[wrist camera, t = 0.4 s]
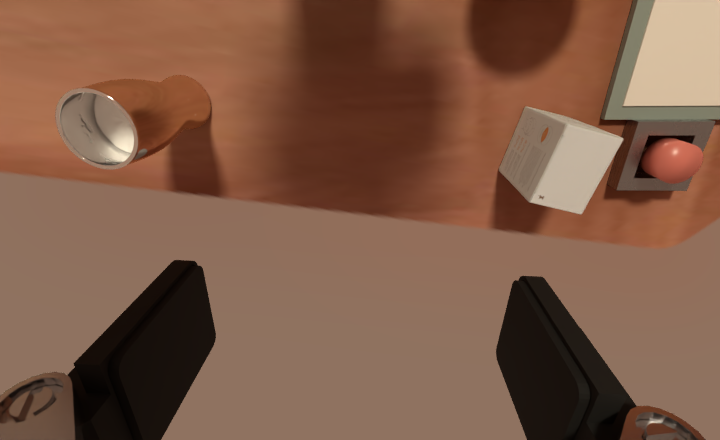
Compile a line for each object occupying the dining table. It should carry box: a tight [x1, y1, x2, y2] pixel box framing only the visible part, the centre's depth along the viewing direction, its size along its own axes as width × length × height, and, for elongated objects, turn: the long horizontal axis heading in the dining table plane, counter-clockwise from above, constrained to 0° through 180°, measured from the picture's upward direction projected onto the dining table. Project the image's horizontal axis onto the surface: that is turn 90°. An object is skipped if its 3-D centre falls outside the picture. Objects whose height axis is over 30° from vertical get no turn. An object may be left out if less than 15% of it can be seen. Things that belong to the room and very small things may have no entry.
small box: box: [499, 106, 624, 214], centre depth 38 cm, size 8×6×10 cm
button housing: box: [607, 119, 716, 191], centre depth 42 cm, size 8×8×2 cm
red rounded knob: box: [641, 138, 703, 184], centre depth 40 cm, size 4×4×3 cm
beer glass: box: [55, 75, 211, 169], centre depth 36 cm, size 7×7×15 cm
